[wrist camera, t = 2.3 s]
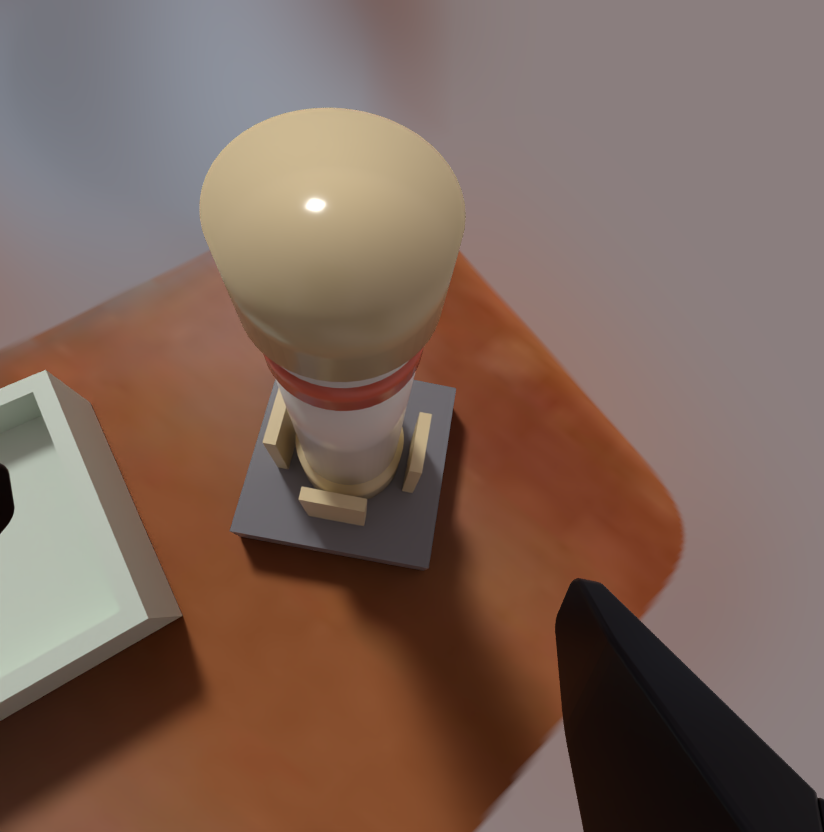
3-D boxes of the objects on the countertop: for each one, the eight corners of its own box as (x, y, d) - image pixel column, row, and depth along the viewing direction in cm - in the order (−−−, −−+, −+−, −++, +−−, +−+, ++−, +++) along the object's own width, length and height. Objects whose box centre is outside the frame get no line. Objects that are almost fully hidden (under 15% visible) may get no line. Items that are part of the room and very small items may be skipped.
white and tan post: (389, 511, 18) (445, 341, 6) (291, 492, 18) (159, 283, 6) (406, 419, 19) (479, 136, 8) (315, 401, 19) (245, 85, 7)
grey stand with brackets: (423, 570, 19) (441, 561, 15) (239, 536, 18) (203, 517, 14) (449, 402, 21) (471, 353, 17) (288, 370, 21) (270, 312, 17)
